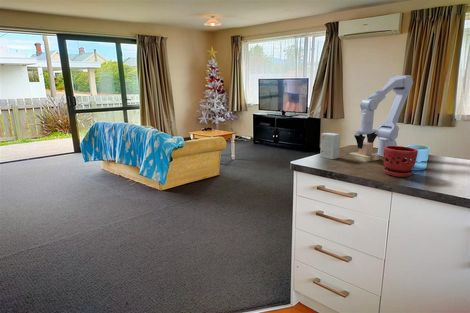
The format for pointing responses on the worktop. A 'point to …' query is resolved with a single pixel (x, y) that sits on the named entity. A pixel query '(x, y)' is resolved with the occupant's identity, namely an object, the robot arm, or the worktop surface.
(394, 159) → the plant pot
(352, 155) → the beige shallow dish
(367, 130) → the robot arm
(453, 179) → the worktop surface
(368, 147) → the clay block
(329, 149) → the small box
